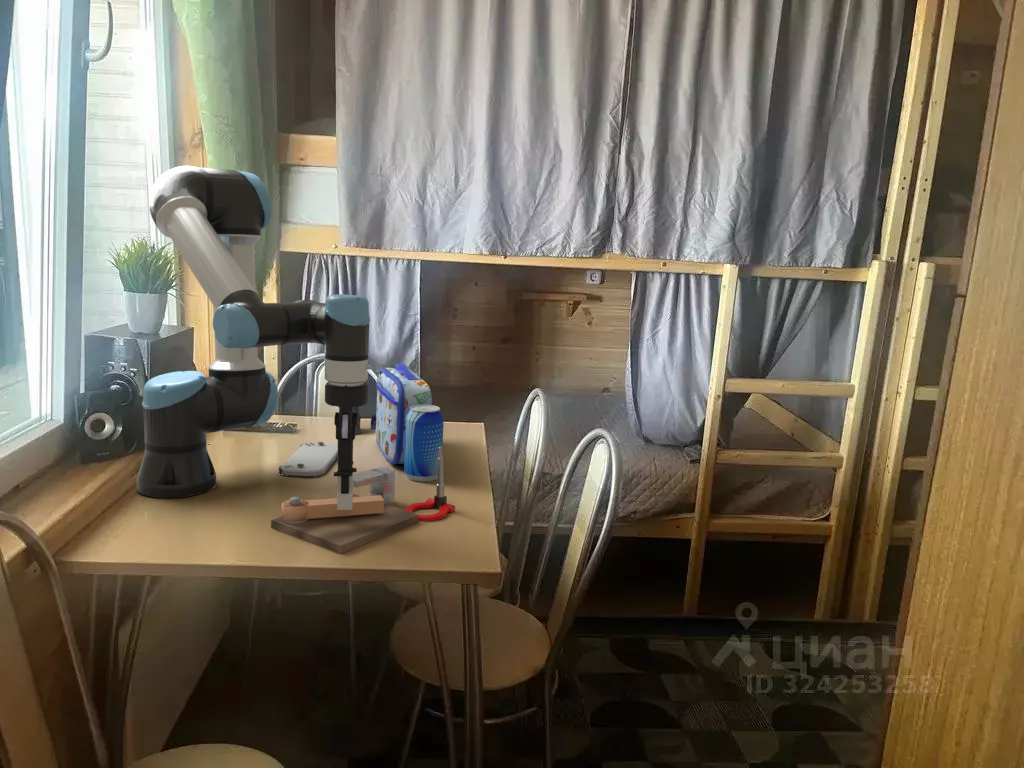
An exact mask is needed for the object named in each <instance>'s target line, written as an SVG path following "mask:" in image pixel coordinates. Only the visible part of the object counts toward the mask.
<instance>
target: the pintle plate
mask: <svg viewBox="0 0 1024 768" xmlns="http://www.w3.org/2000/svg"><path fill="white" fill-rule="evenodd" d="M353 497H361V495H357V494H355V493H353ZM418 514H419V513H415V512H413V513H412V512H408V511H405V509H401V508H398V507H395V506H392V505H389V504H384V513H377V514H364V515H351V516H338V517H325V518H312V519H305V520H302V521H296V522H291V521H285V520H283V519H282V515H281V516H278V517H276V518H273V519H270V527H271V528H272V529H274V530H277V531H278V532H279V531H280V532H282V533H284V534H287V535H290V536H292V537H295V538H296V539H300V540H302V541H306V542H309V543H311V544H313V545H316V546H319V547H321V548H323V549H326V550H330V551H331V552H332V551H333V553H334V552H335V553H338V554H340V555H341V554H344V553H347V552H349V551H351V550H354V549H357V548H359V547H361V546H363V545H367V544H368V543H371V542H374V541H376V540H378V539H381V538H383V537H386V536H388V535H390V534H393V533H395V532H397V531H400V530H403V529H405V528H408V527H410V526H412V525H415V524H417V523H419V522H420V521H419V515H420V514H419V515H418ZM373 540H374V541H373Z"/></svg>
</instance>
